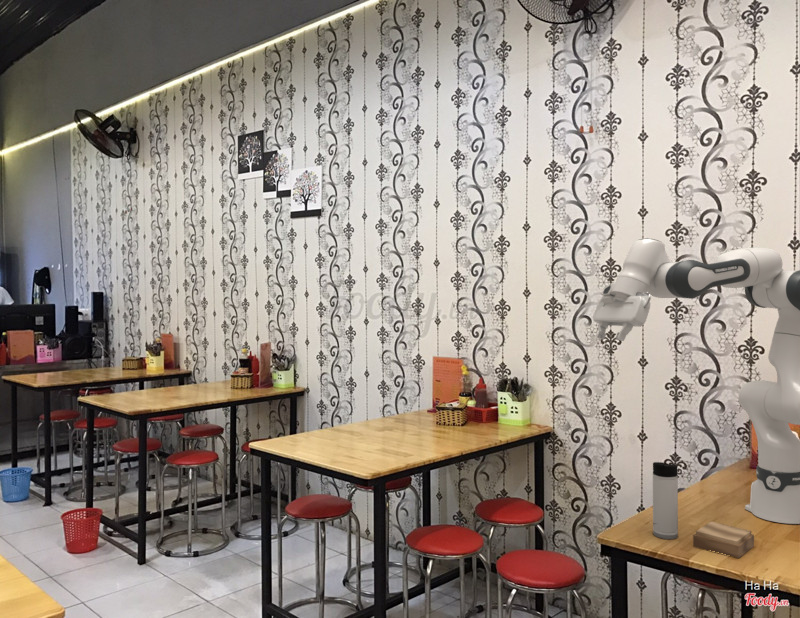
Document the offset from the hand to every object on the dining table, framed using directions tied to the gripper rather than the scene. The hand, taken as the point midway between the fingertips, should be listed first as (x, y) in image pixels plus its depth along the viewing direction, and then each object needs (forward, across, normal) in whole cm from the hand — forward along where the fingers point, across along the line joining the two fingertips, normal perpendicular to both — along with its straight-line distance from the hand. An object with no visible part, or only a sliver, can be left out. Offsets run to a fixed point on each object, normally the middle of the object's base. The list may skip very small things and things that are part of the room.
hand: (609, 339), depth 175 cm
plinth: (+37, -13, -46) cm, 60 cm away
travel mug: (+42, -2, -37) cm, 56 cm away
